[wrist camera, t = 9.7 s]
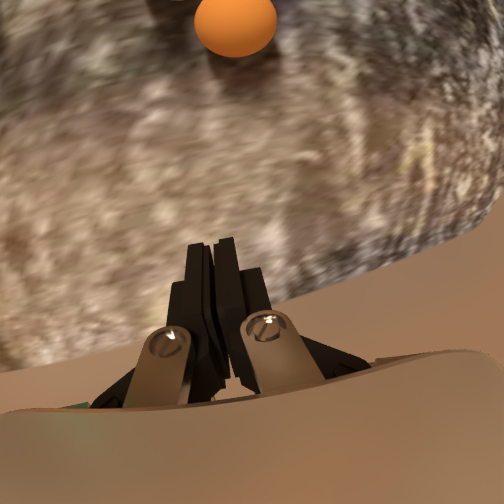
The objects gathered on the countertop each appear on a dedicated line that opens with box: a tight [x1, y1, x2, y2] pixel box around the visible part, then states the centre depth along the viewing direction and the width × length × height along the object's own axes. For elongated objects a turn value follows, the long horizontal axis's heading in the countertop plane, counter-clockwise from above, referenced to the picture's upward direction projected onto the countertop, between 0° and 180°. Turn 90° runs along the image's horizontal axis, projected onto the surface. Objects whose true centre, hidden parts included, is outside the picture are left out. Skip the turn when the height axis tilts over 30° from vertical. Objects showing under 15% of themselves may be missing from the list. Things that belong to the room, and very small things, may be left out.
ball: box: [194, 0, 277, 57], centre depth 18 cm, size 6×6×6 cm
